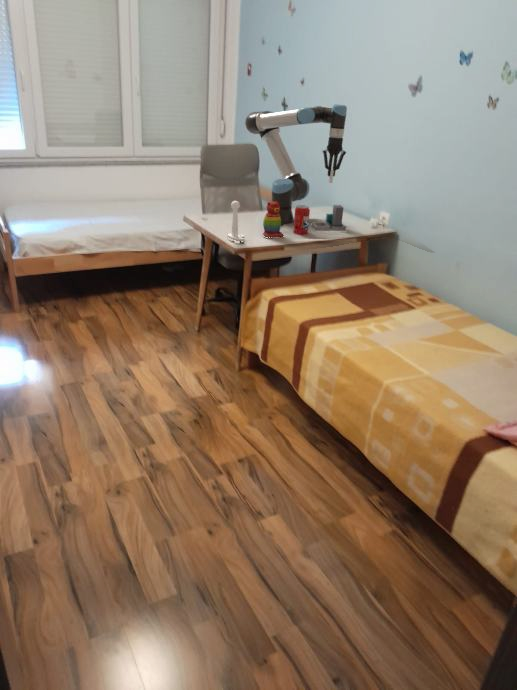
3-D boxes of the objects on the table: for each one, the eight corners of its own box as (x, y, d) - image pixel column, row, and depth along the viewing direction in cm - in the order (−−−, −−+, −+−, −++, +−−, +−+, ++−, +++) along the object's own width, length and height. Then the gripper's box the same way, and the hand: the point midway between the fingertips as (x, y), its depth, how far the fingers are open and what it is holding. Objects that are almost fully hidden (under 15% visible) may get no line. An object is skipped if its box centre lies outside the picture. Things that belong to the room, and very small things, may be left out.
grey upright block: (333, 229, 290) (336, 207, 284) (330, 226, 295) (333, 204, 290) (340, 229, 290) (343, 207, 285) (337, 226, 296) (340, 205, 290)
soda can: (291, 232, 284) (293, 204, 277) (305, 232, 286) (307, 204, 279) (295, 236, 277) (297, 208, 270) (309, 236, 279) (312, 208, 272)
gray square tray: (317, 234, 284) (317, 228, 282) (309, 225, 298) (310, 220, 297) (347, 234, 286) (348, 228, 285) (338, 225, 301) (338, 220, 300)
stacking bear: (266, 239, 271) (268, 204, 263) (258, 233, 279) (260, 200, 271) (285, 237, 275) (287, 203, 267) (276, 232, 283) (278, 199, 275)
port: (331, 230, 288) (332, 219, 285) (325, 224, 299) (326, 213, 296) (345, 230, 289) (346, 219, 286) (338, 224, 300) (339, 213, 297)
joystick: (225, 238, 270) (226, 198, 260) (238, 236, 273) (239, 197, 264) (236, 244, 262) (237, 203, 252) (249, 242, 265) (250, 202, 256)
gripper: (325, 137, 273) (320, 183, 284) (349, 138, 275) (343, 184, 286) (322, 135, 279) (317, 180, 291) (346, 136, 281) (339, 181, 293)
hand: (330, 182), depth 288 cm, fingers closed
